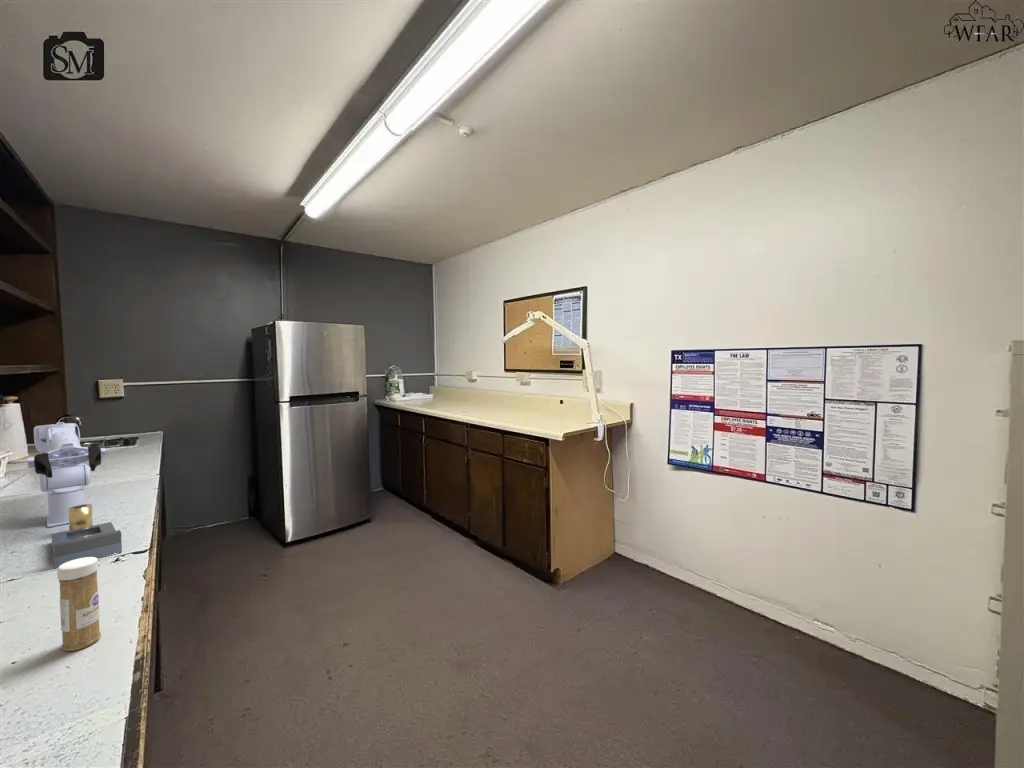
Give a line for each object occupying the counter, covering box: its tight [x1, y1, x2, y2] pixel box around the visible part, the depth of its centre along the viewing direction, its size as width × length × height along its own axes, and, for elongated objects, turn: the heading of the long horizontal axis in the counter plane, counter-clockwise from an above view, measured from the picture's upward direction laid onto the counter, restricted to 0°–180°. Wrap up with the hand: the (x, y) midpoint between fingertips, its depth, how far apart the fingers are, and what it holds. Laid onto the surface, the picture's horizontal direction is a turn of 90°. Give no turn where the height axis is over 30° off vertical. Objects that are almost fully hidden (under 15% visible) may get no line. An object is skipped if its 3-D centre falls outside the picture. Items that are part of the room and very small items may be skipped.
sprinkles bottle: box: [57, 557, 102, 652], centre depth 69 cm, size 5×5×13 cm
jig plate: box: [51, 521, 123, 570], centre depth 104 cm, size 20×11×5 cm, turn 49°
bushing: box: [68, 503, 94, 531], centre depth 114 cm, size 4×4×7 cm
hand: (72, 470), depth 109 cm, fingers open, 7 cm apart
